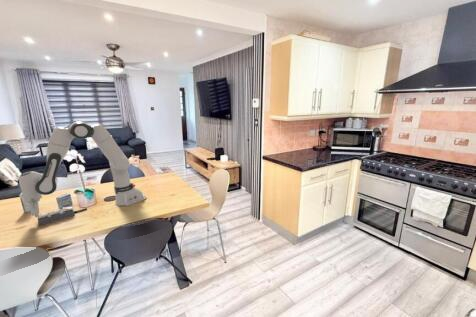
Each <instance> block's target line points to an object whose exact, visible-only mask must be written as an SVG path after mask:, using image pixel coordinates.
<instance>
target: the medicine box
mask: <svg viewBox="0 0 476 317" xmlns="http://www.w3.org/2000/svg"><path fill="white" fill-rule="evenodd" d="M71 195H72V194H71V193H65V194H63V195H59V196H57V197H55V198H56V204H57V207H58V208H57V209H63V207H71V205H74V204H73V200H72V196H71Z"/></svg>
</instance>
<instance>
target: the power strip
mask: <svg viewBox="0 0 476 317" xmlns="http://www.w3.org/2000/svg"><path fill="white" fill-rule="evenodd" d="M70 207H72V208H73V206H71V205H70ZM59 209H60V212H58V213H57V214H54V215H52V216H51V214H50V212H51V211H49V212H48V215H47V216H45V217H44V218H39V219H38V218H37V222H38V226H43V225H46V223H47V224H51V223H53V221H54V222H57V221H60V220H64V219H66V218H70V217H74V216H75V214H76V213H80V212H83V211H87V210H88V208H87V207H85V208H82V209H79V210H75V211H74V208H73V209H72V210H69V211H66V210H64V211H63V209H62V208H59Z"/></svg>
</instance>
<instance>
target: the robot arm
mask: <svg viewBox="0 0 476 317" xmlns="http://www.w3.org/2000/svg"><path fill="white" fill-rule="evenodd" d="M75 138H76V139H81V140H82V139H87V138H88V139H89V138H91V139H92V140H93V142H95V144H96V146H97V147H98V149H99V150H100V151H101V152H102V154H103V155H104V157H105V158H106V159H107V160H108V163H109V168H110V171H111V174H112V178H113V179H112V180H113V183H114V184H113V185H114V186H113V189H114V194H115V203H114V205H116V206H119V207H121V206H126V207H128V206H132V205H134V204H136V203H137V204H138V203H139V202H142V201H144V200H146V199H147V195H145V194H144V193H143V192H142V190H141V189H140V188H137V187H136V184H134V183H132V182H131V179H130V174H129V171H128V170H129V169H128V168H129V167H130V160H129V158H128V157H127V156H126V155H125V153H124V152H123V150H122V148H121V147H119V145H118V144H117V142H116V140H115V139H114V138H113V136H112V135H111V134H110V132H109V131H108V130H107V129H106V127H105V126H103V125H102V124H101V123H97V124H93V125H89V124H87V122H85V121H82V120H75V121H73V122H71V123H70V124H68V126H66V127H65V126H57V127H55V128H54V129H53V131H52V133H51V135H50V136H49V139H48V142H47V147H46V165H45V167H44V170H43V173H40V172H37V171H35V170H29V171H25V172H23V173H21V174H20V175H19V176H18V182H19V188H20V190H21V193H22V197H23V201H24V202H27V203H29V206H30V211H31V212H30V214H31V216H34V218H38V216H39V215H40V205H39V202H40V201H41V199H42V198H43V196H42V195H44V196H48V195H51V194H54V192H56V190H57V187H58V186H57V184H58V178H57V174H58V171H59V168H60V165H61V163H62V162H63V161H64V159H65V157H66V156H67V154H68V151H69V149H70V147H71V142H72V141H73V139H75Z"/></svg>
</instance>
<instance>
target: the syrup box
mask: <svg viewBox="0 0 476 317" xmlns="http://www.w3.org/2000/svg"><path fill="white" fill-rule="evenodd" d="M18 196H19V199H20V202H21V203H20V204H21V205H22V210H23V213H31V211H30V206H29V203H27V202H24V201H23V197H22V192H21V193H20V194H19V195H18Z"/></svg>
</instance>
